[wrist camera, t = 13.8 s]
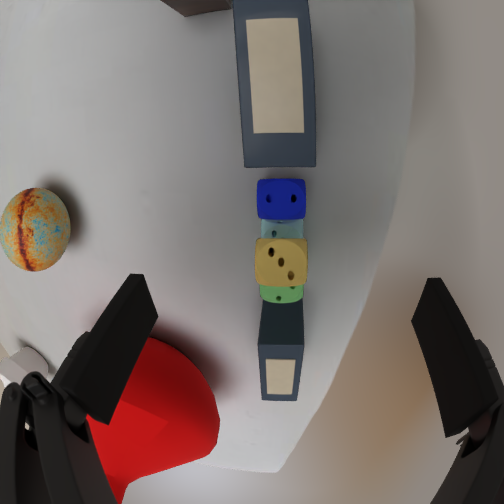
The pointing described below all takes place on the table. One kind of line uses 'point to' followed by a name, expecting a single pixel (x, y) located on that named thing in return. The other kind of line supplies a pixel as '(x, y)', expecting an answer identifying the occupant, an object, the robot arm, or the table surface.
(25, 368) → the potted plant
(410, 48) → the table surface
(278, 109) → the blue block
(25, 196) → the ball
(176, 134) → the table surface
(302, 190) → the dice
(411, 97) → the table surface
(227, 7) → the brown paneled block
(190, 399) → the vase
